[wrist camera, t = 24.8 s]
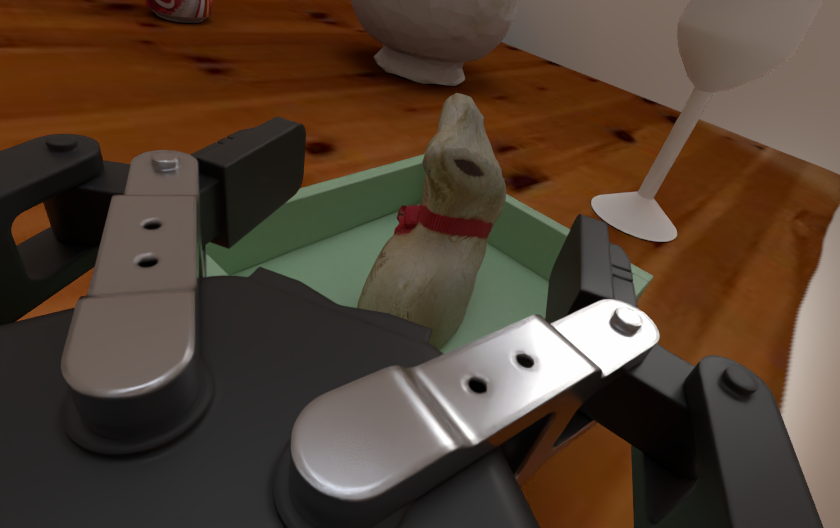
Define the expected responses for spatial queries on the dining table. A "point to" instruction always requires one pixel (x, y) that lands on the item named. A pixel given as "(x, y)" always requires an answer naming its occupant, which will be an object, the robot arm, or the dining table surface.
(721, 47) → the champagne flute
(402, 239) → the chocolate bunny
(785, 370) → the dining table surface
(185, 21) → the soda can
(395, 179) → the green tub
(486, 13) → the ceramic pitcher
